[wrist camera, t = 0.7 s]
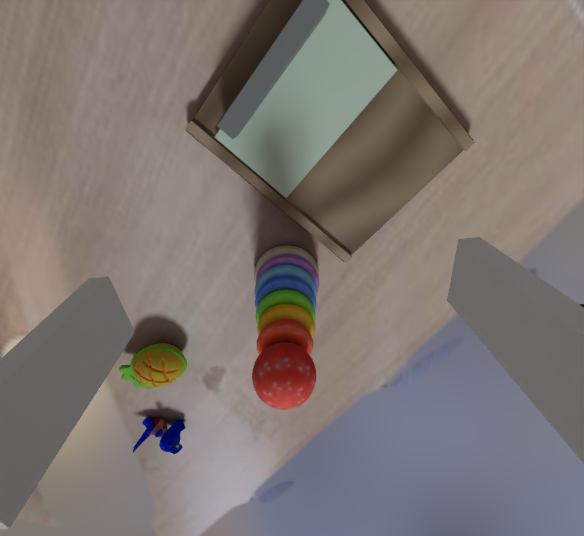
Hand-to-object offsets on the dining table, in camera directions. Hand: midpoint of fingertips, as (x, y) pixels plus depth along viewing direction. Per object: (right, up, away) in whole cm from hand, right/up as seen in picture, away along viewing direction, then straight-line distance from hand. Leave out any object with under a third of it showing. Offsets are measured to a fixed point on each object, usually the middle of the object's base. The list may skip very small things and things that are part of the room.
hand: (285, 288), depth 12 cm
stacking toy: (0, 0, +26) cm, 27 cm away
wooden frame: (+4, +14, +19) cm, 24 cm away
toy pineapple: (-19, -12, +33) cm, 40 cm away
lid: (+1, +16, +16) cm, 23 cm away
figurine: (-22, -26, +41) cm, 53 cm away
